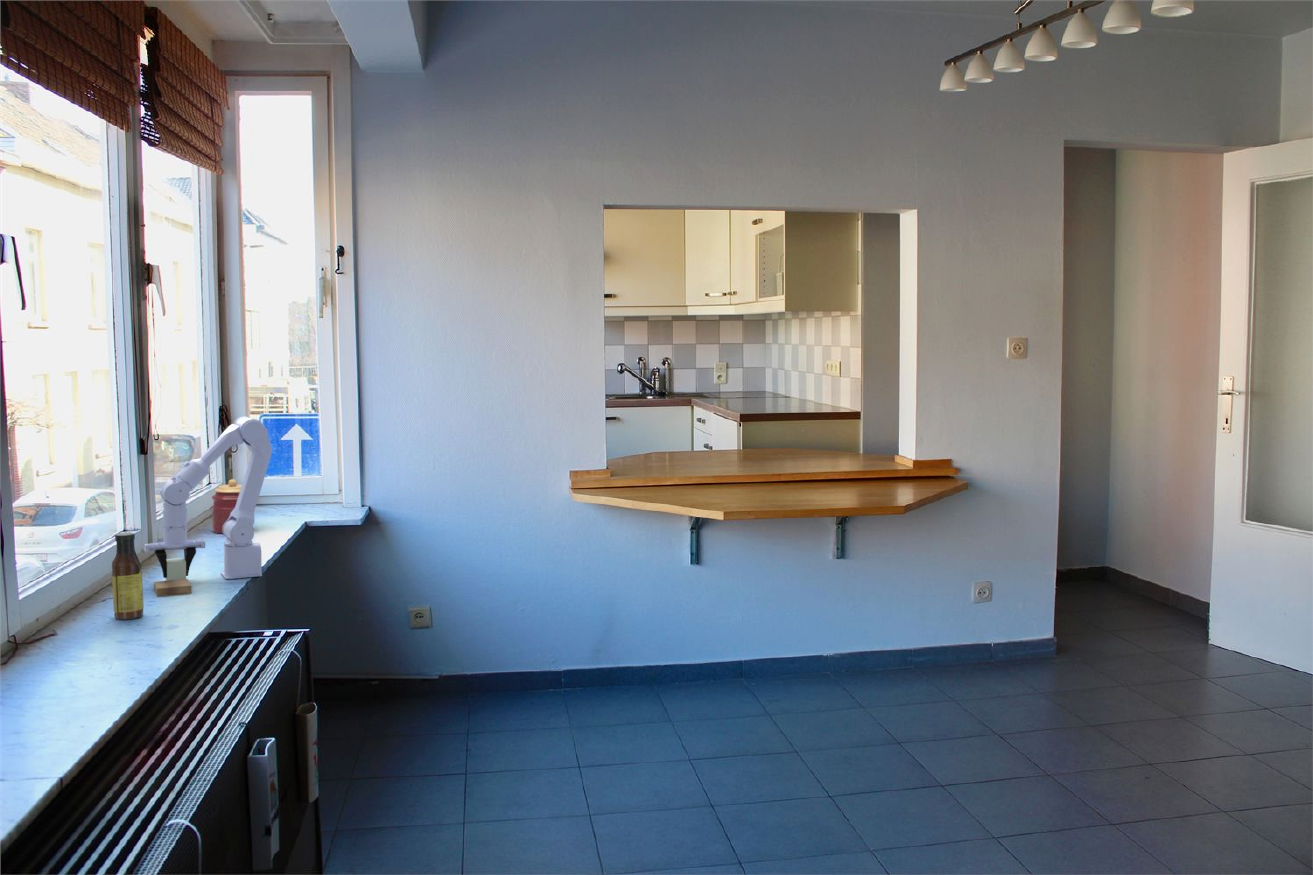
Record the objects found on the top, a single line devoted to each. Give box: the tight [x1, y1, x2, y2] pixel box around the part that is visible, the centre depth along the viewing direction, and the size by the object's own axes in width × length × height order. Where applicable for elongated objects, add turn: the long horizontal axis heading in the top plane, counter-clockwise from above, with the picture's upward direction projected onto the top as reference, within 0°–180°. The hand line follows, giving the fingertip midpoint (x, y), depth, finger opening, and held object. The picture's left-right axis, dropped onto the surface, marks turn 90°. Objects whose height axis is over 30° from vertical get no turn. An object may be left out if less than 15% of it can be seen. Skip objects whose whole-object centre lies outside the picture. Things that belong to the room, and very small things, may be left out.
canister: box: [211, 478, 242, 535], centre depth 340 cm, size 13×13×18 cm
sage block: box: [164, 557, 187, 581], centre depth 270 cm, size 4×4×6 cm
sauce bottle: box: [111, 531, 144, 620], centre depth 235 cm, size 6×6×20 cm
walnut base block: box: [153, 578, 193, 597], centre depth 260 cm, size 8×8×2 cm
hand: (175, 576), depth 270 cm, fingers closed on sage block, 4 cm apart
